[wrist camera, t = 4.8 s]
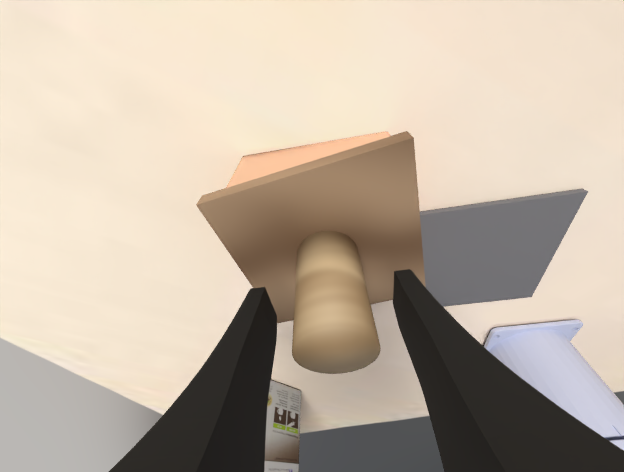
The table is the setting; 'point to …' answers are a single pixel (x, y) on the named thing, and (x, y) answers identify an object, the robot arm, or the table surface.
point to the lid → (327, 245)
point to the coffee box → (282, 429)
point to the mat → (494, 246)
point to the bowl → (294, 157)
